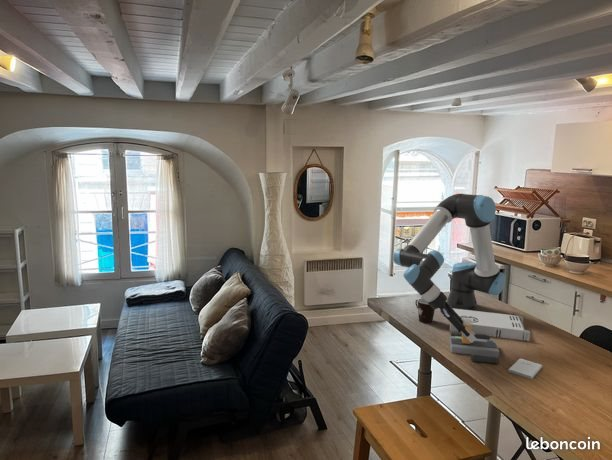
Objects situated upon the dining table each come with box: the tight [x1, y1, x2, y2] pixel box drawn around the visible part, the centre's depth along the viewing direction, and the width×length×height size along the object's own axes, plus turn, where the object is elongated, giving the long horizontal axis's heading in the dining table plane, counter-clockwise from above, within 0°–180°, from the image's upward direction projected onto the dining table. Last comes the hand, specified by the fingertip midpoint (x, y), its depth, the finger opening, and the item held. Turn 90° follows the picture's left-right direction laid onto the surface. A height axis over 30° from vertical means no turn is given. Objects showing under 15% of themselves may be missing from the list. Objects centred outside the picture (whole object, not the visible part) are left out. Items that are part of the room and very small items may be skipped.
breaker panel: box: [448, 335, 500, 359], centre depth 183 cm, size 18×11×3 cm, turn 76°
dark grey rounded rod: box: [450, 331, 491, 340], centre depth 193 cm, size 16×2×2 cm, turn 76°
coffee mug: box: [415, 297, 436, 324], centre depth 213 cm, size 12×9×10 cm
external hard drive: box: [507, 358, 543, 380], centre depth 166 cm, size 2×8×12 cm
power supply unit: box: [449, 307, 531, 342], centre depth 205 cm, size 19×33×5 cm, turn 72°
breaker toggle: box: [461, 319, 472, 344], centre depth 182 cm, size 3×4×9 cm
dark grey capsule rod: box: [470, 355, 500, 365], centre depth 171 cm, size 10×2×2 cm, turn 76°
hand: (473, 338), depth 182 cm, fingers closed on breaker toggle, 4 cm apart
